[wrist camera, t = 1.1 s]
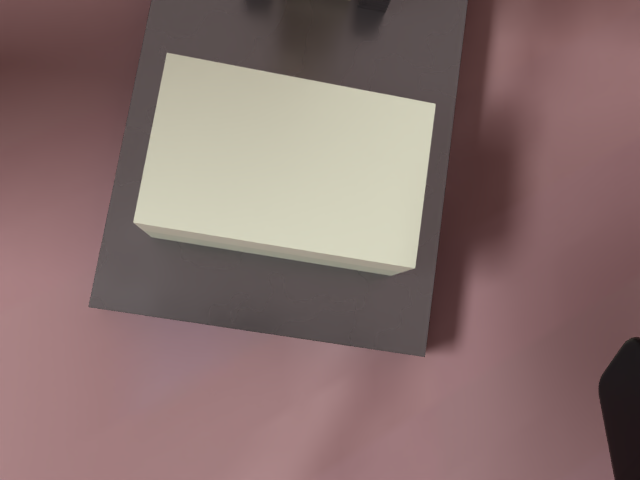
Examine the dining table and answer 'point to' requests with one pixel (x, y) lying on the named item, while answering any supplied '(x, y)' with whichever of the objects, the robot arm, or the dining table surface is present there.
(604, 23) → the dining table surface
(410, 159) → the offcut upper
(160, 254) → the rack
